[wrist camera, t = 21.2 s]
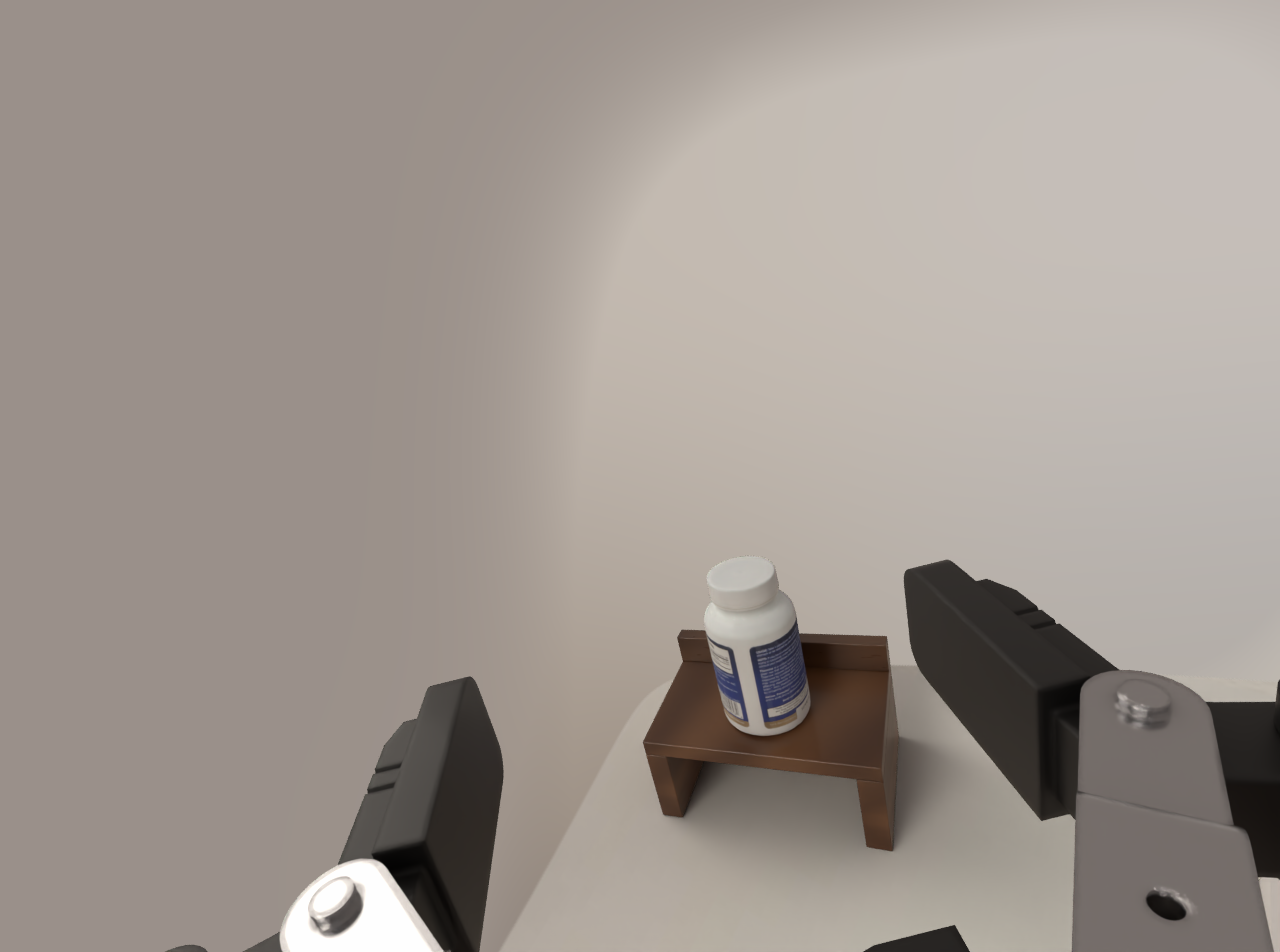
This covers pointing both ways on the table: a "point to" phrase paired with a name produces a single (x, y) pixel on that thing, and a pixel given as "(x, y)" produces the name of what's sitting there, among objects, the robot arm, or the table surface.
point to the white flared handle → (1272, 907)
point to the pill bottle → (755, 647)
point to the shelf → (821, 744)
